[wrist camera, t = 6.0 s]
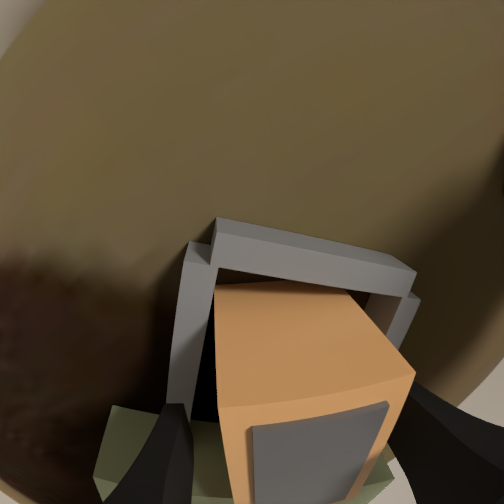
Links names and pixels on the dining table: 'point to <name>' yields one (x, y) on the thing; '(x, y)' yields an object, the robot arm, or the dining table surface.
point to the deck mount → (195, 323)
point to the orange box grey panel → (302, 391)
